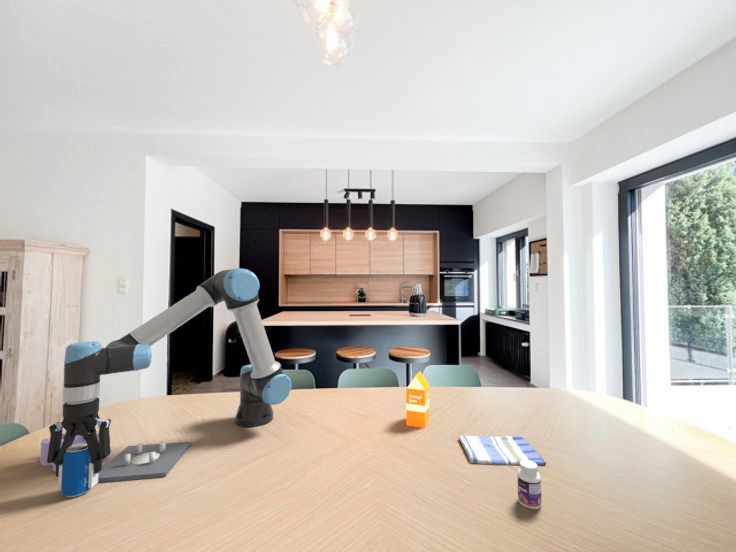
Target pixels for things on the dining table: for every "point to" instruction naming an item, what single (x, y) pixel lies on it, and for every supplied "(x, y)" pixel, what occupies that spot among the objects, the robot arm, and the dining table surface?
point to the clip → (46, 442)
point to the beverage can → (76, 470)
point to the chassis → (143, 461)
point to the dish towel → (499, 450)
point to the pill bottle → (529, 485)
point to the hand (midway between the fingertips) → (78, 486)
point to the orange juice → (417, 401)
